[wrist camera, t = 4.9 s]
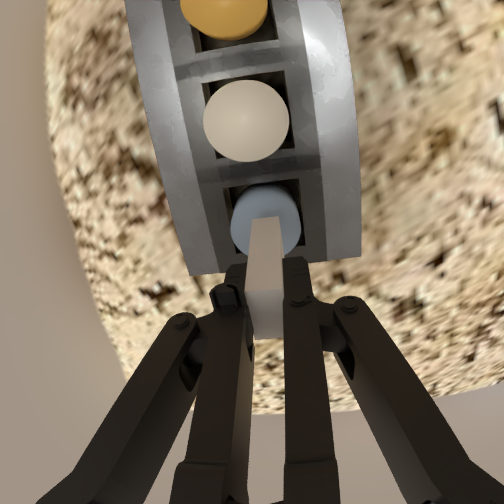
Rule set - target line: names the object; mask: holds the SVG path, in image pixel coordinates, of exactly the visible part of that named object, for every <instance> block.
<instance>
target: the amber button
mask: <svg viewBox="0 0 504 504" xmlns="http://www.w3.org/2000/svg"><path fill="white" fill-rule="evenodd" d="M180 6H181V10H182V13H183V15H184V16H185V18H186V19H187V21H188V22H189V23H190V24H191V25H193V26H194V27H195V28H197V29H198V30H200V31H201V32H203V33H204V34H206V35H207V36H209V37H211V38H213V39H216V40H221V41H235V40H240V39H243V38H246V37H248V36H250V35H251V34H253V33H254V32H255V31H257V30H258V29H259V28H260V27H261V25H262V24H263V22H264V20H265V18H266V15H267V7H268V0H180Z"/></svg>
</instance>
